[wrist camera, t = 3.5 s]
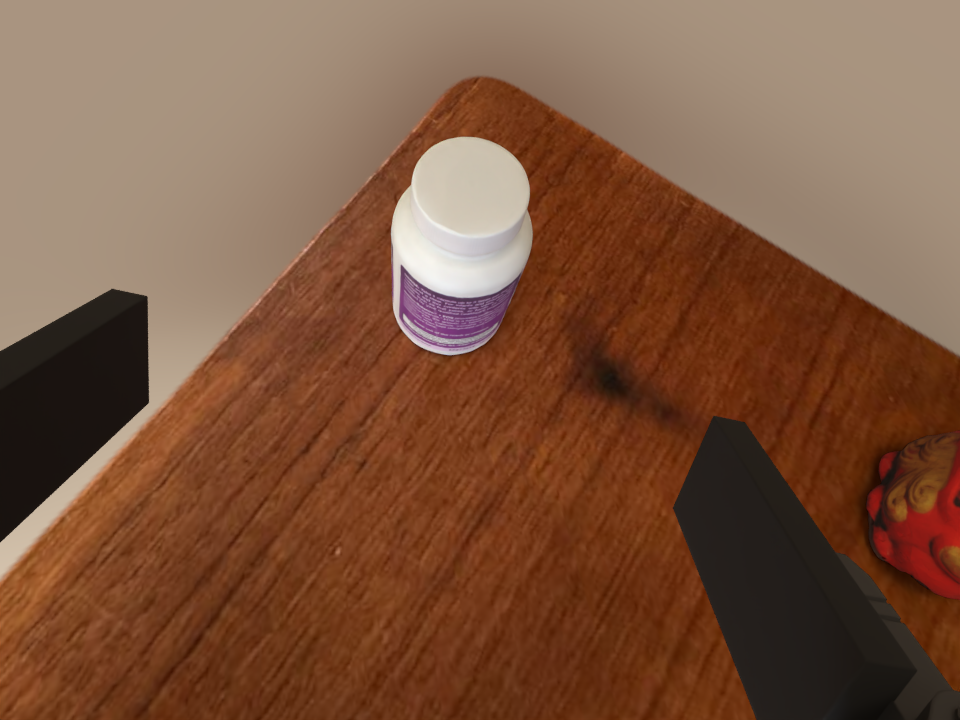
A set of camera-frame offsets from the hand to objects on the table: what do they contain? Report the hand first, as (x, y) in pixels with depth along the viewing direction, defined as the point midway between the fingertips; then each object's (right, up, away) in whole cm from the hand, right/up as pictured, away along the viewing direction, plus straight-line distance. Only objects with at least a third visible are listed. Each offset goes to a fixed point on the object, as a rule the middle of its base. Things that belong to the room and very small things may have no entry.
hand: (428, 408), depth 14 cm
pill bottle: (0, +4, +15) cm, 16 cm away
